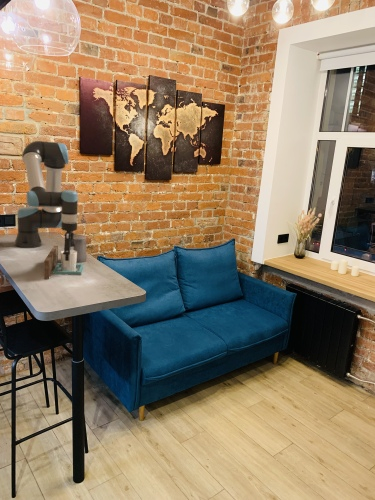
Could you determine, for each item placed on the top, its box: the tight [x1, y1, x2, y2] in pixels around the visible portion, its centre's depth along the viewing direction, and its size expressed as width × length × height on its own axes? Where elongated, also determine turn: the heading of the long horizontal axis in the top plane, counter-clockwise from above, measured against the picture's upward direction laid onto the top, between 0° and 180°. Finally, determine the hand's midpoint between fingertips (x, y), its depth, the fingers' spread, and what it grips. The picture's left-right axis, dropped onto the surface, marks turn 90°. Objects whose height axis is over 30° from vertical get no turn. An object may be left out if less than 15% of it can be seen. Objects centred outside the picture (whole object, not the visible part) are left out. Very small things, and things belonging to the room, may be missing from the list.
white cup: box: [60, 249, 77, 271], centre depth 190 cm, size 8×8×10 cm
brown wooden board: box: [43, 245, 59, 280], centre depth 188 cm, size 28×2×9 cm, turn 10°
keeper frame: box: [52, 262, 84, 276], centre depth 191 cm, size 13×13×2 cm
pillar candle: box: [72, 234, 87, 264], centre depth 207 cm, size 10×10×15 cm
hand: (68, 262), depth 190 cm, fingers open, 13 cm apart
